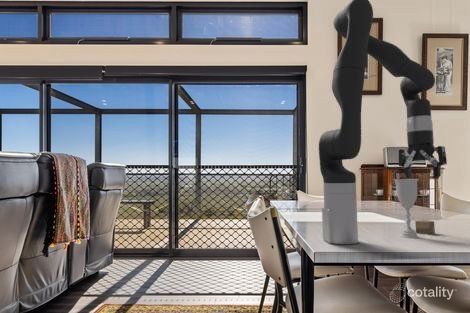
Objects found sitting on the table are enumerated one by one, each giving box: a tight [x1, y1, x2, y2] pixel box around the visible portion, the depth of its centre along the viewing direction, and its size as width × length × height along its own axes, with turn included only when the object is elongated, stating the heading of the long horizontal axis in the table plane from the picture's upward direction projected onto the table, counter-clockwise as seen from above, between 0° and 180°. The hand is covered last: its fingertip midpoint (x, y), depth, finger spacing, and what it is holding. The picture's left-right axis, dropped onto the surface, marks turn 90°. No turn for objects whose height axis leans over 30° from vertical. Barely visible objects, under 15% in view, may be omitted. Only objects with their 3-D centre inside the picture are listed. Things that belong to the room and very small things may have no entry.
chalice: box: [394, 178, 419, 239], centre depth 98 cm, size 7×7×18 cm
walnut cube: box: [415, 219, 436, 236], centre depth 102 cm, size 4×4×4 cm
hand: (422, 178), depth 103 cm, fingers open, 8 cm apart
